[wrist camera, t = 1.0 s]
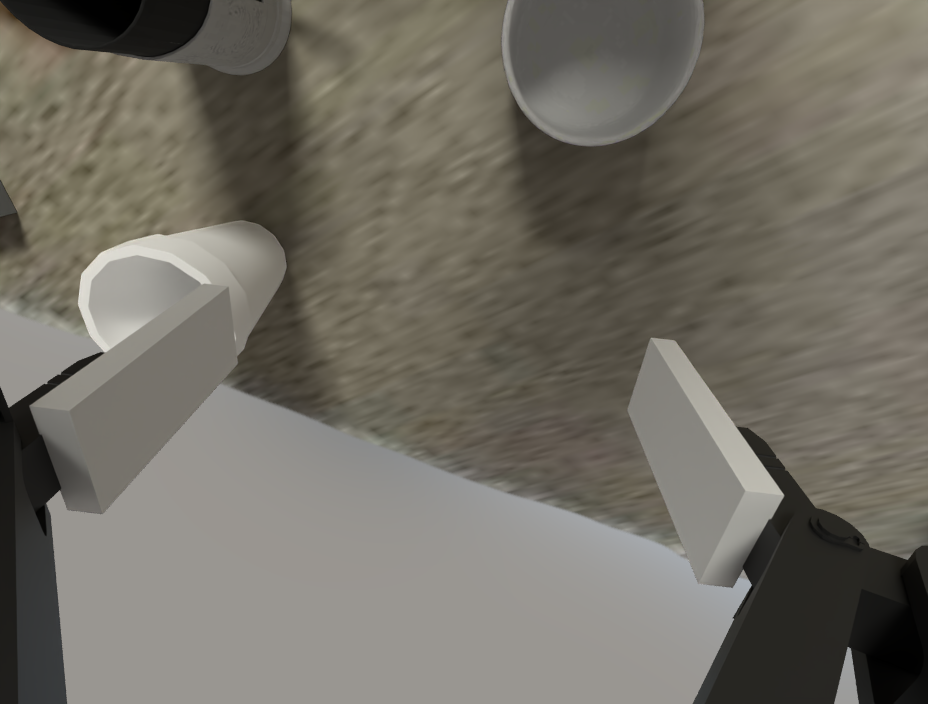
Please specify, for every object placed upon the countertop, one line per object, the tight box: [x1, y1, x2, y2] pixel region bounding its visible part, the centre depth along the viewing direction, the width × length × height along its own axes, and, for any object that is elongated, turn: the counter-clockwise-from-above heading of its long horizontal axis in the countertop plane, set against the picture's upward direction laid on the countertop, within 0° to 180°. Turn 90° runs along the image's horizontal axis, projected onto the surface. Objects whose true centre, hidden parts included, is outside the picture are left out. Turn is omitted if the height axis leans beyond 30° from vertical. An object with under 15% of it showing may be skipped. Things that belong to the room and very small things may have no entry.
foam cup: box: [78, 220, 287, 356], centre depth 36 cm, size 10×9×13 cm
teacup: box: [501, 0, 704, 146], centre depth 30 cm, size 14×11×8 cm
